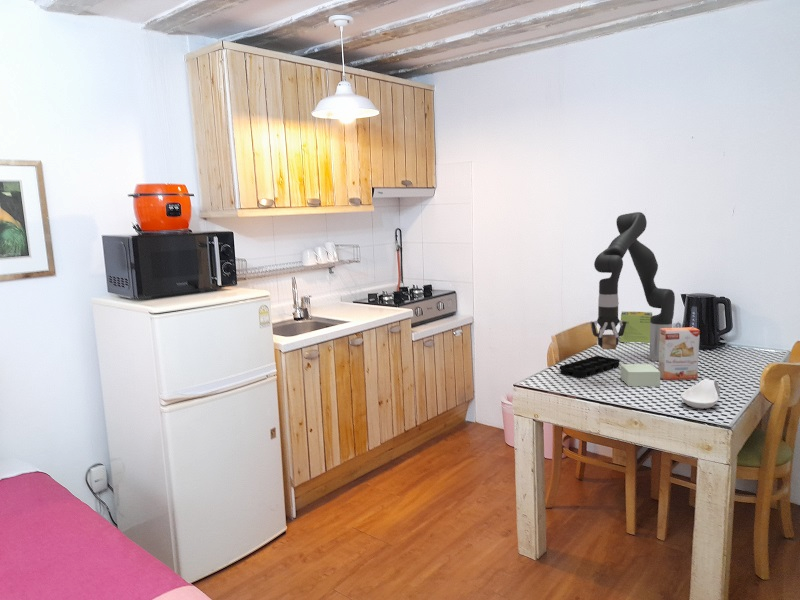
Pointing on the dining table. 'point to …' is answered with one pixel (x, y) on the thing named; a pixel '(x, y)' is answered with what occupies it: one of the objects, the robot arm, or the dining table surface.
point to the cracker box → (679, 353)
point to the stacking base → (640, 375)
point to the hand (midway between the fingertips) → (607, 346)
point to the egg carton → (589, 366)
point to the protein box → (636, 326)
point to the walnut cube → (608, 341)
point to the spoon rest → (702, 394)
